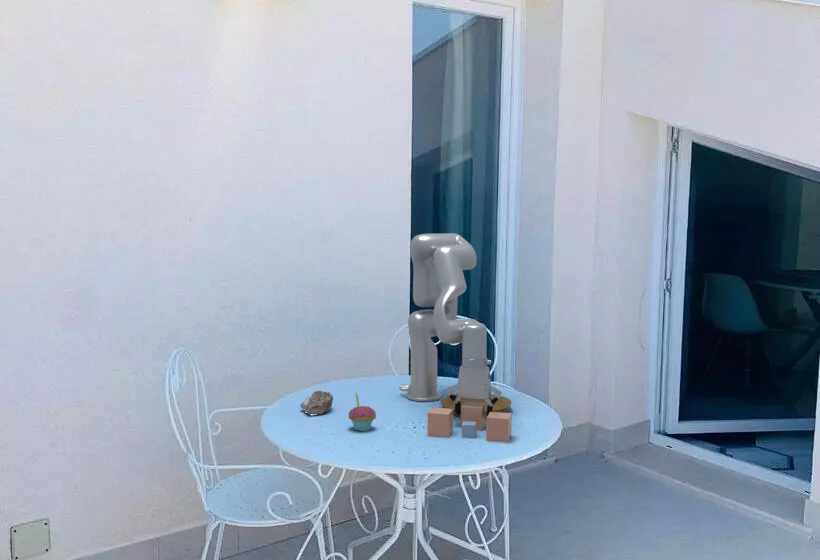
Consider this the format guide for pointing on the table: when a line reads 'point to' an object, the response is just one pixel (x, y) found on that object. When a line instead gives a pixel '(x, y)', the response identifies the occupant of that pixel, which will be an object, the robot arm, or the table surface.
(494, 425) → the salmon orange block
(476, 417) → the toy block
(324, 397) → the seashell
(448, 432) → the peach toy brick
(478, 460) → the table surface
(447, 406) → the plant saucer
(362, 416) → the cupcake
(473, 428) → the cube
